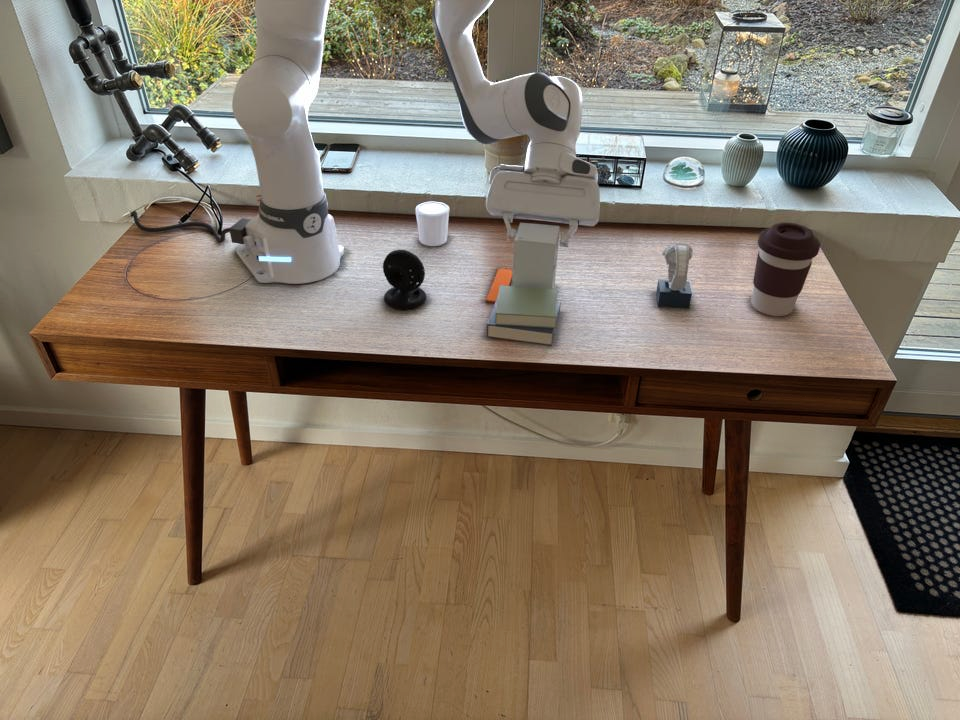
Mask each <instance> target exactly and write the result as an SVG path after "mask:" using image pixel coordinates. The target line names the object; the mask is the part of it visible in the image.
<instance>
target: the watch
mask: <svg viewBox="0 0 960 720" xmlns="http://www.w3.org/2000/svg"><path fill="white" fill-rule="evenodd" d="M693 250H694V249H693V247H692V246H691V245H689V244H686V243H682V242H681V243H680V242H679V243H672V244H670V245H667V246H666V247H665V248H664V250H661V256H664V259H665V264H666V266H668V268H667V279H658V280H657V284H656V285H657V286H656V292H655V298H656V305H657V307H658V308H671V309H684V310H685V309H686V310H687V309H688V310H689V309H690V305H691V300H692V295H693V292H692V287H691V283H690V281H688V273H689V263H690V260H691V259H692V257H693V252H694V251H693Z"/></svg>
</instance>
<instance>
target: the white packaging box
mask: <svg viewBox="0 0 960 720" xmlns="http://www.w3.org/2000/svg"><path fill="white" fill-rule="evenodd" d="M516 231H517V234H516V237H515V239H514V241H513V251H512V252H513V253H512V270H513V271H512V279H511V286H515V287H532V288H549V289H556V288H555V287H556V278H557V277H556V276H557V267H558V266H557V265H558V257H559V256H558V255H559V243H560V231H561V227H560V225H551V224H544V223H543V224H541V223H530V222H520V223H519V225H518V228H517V230H516Z"/></svg>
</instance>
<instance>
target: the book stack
mask: <svg viewBox="0 0 960 720" xmlns="http://www.w3.org/2000/svg"><path fill="white" fill-rule="evenodd" d="M560 314H561V301H558V288H554V289H549V288H532V287H515V286H512V285H509V286H500V287H499V293H498V297H497V300H496V302H495V303H494V305H493V308H492V310H491V313H490V314H489V318H488V321H487V323H486V338H493V339H500V340H508V341H513V342H522V343H528V344H538V345H545V346H552V345H553V342H554V338H555V334H556V330H557V326H558V322H559V319H560V316H561V315H560Z"/></svg>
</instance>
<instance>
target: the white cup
mask: <svg viewBox="0 0 960 720" xmlns="http://www.w3.org/2000/svg"><path fill="white" fill-rule="evenodd" d="M415 217H416V225H417V231H418V232H417V233H418V239H419V243H421V244H422V245H424V246H429V247H438V246H442V245H444V244H446V243H447V241H448V232H449V231H448V229H449V218H450V206H449V205H448V204H446V203H444V202H440V201H426V202H422V203H419V204H418V205H416V207H415Z"/></svg>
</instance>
